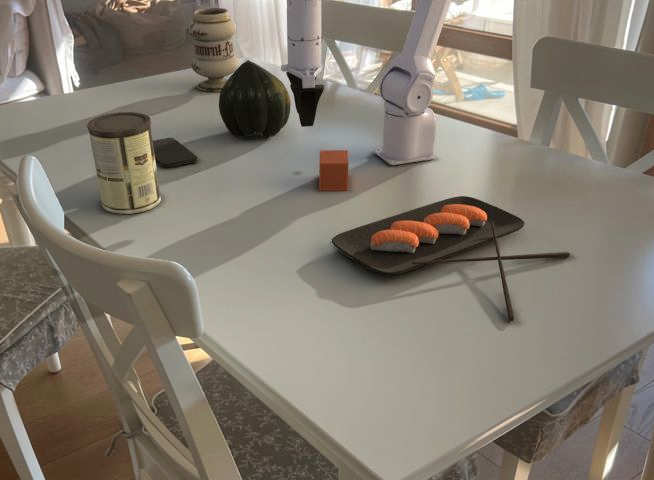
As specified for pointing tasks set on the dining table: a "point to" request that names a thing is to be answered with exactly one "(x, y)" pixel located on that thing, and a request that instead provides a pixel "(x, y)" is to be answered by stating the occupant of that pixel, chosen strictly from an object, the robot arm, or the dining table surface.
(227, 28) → the apothecary jar
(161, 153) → the phone
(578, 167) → the dining table surface
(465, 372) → the dining table surface
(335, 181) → the orange open-ended box
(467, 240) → the sushi plate
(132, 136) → the coffee can
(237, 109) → the squash
